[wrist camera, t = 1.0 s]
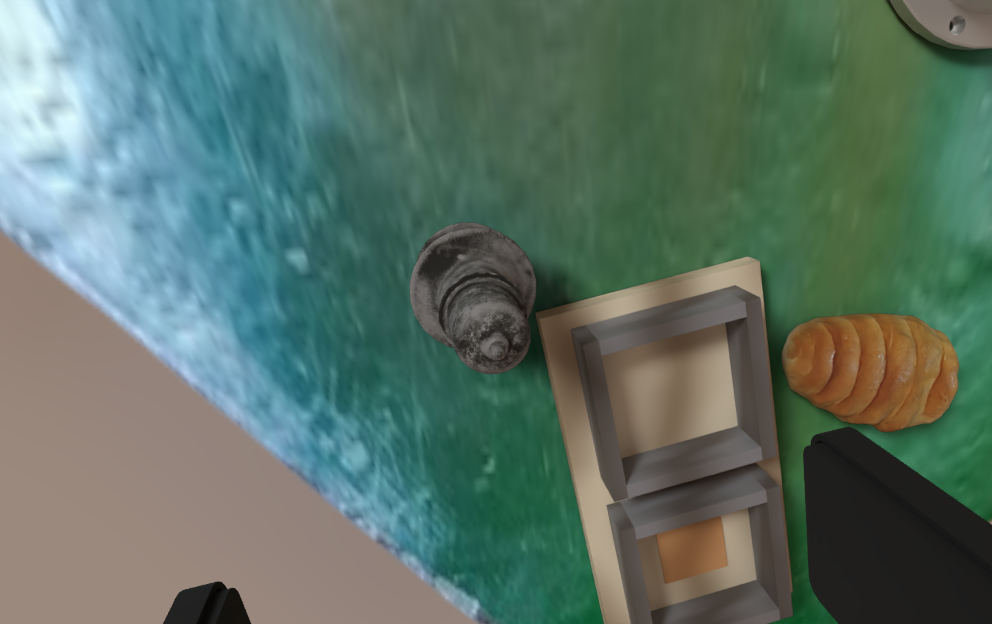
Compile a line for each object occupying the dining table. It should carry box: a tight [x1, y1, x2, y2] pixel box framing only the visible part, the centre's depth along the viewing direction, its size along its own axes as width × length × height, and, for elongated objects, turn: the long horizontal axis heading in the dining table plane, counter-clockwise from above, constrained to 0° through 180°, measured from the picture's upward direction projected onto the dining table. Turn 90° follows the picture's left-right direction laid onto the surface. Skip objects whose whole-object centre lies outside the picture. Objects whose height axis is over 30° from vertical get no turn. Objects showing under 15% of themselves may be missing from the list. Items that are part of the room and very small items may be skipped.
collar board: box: [535, 257, 793, 624], centre depth 36 cm, size 12×22×4 cm, turn 14°
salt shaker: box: [410, 223, 536, 374], centre depth 27 cm, size 6×6×12 cm
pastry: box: [782, 314, 959, 432], centre depth 36 cm, size 9×7×4 cm
